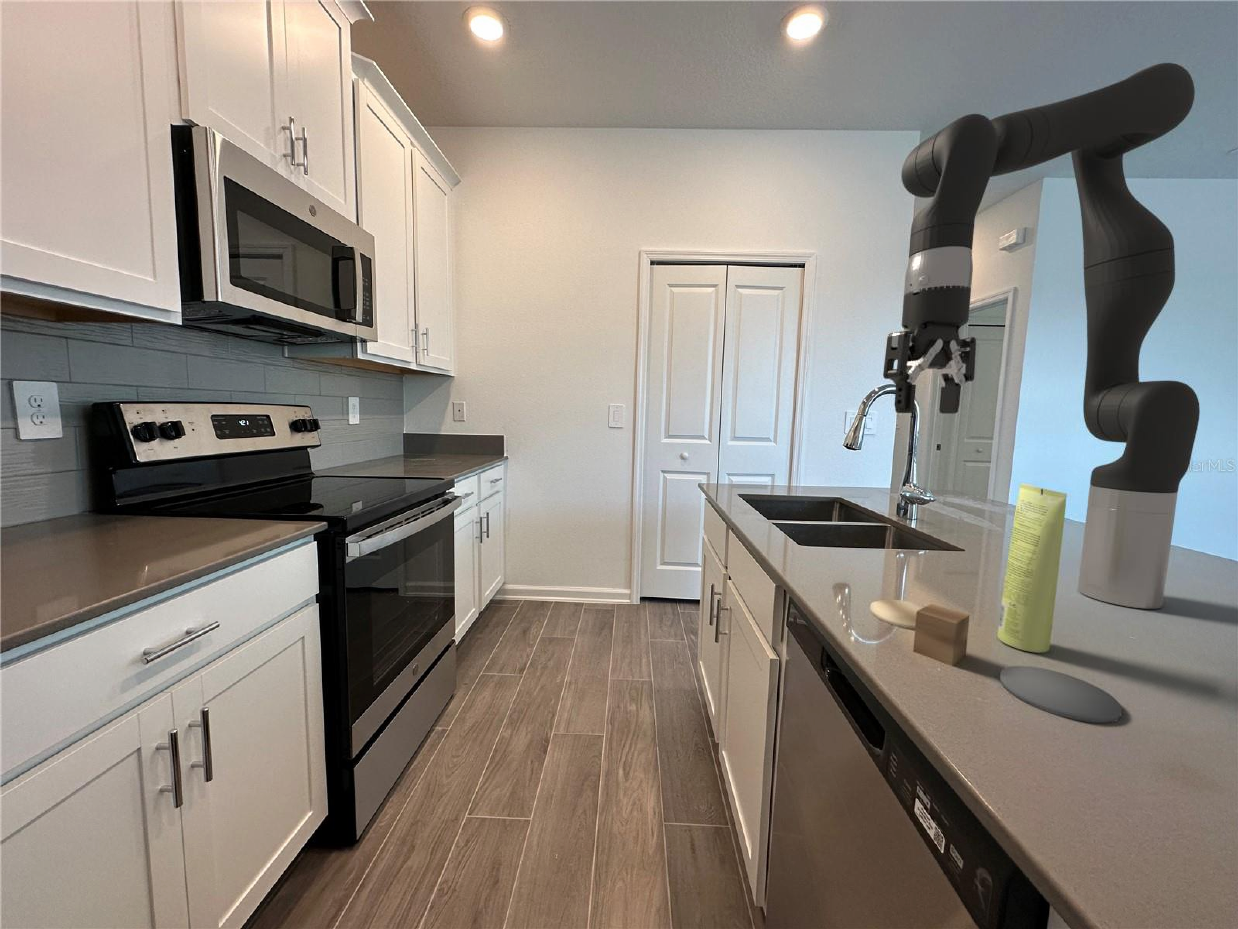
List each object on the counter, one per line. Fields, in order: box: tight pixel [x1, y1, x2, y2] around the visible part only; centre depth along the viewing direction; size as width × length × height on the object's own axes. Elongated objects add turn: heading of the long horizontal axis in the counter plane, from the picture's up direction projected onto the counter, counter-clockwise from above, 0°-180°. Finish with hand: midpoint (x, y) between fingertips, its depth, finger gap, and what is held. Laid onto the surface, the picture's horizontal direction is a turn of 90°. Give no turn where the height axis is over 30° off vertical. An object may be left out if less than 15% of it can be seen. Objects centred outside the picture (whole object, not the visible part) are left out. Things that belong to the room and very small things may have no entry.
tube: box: [997, 482, 1068, 653], centre depth 58 cm, size 6×5×20 cm
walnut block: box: [912, 603, 970, 667], centre depth 57 cm, size 4×4×5 cm
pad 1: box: [869, 599, 927, 631], centre depth 68 cm, size 9×9×1 cm
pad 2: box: [999, 665, 1122, 724], centre depth 49 cm, size 9×9×1 cm
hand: (926, 413), depth 66 cm, fingers open, 8 cm apart
